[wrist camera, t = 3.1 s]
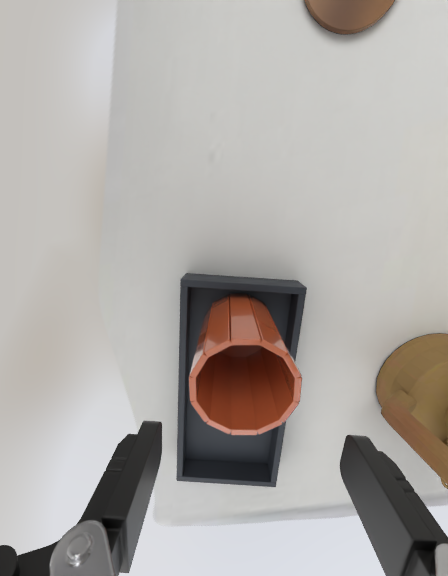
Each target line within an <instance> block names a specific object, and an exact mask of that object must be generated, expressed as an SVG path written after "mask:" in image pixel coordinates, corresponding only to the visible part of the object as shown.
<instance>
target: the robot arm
mask: <svg viewBox="0 0 448 576" xmlns="http://www.w3.org/2000/svg"><path fill="white" fill-rule="evenodd" d="M161 454H162V423H161V422H155V421H143V423H142V425H141V427H140V430H139V432H138V434H128V435H127V436H126V437H125V438H124V439H123V440H122V441H121V442H120V443H119V444H118V446H117V448H116V450H115V452H114V454H113V456H112V459H111V460H110V462H109V464H108V466H107V468H106V471H105V472H104V474H103V476H102V478H101V480H100V482H99V484H98V486H97V488H96V490H95V492H94V494H93V496H92V498H91V500H90V502H89V504H88V506H87V508H86V510H85V512H84V513H83V515H82V517H81V519H80V520H79V522H78V523H77V525H76V526H74V527H73V528H71V529H70V530H69V531H68V532H67V533H66V534H65V535H64V536H63V537H62V538H61V539H60V540H59V541H57V542H55V543H53V544H52V545H49V546H46V547H43V548H40V549H37V550H34V551H31V552H28V553H25V554H21V555H18V556H17V554H16V552H15V549H13V548H12V547H11V546H7V545H1V546H0V576H118V575H119V572H121V573H129V571H130V567H131V564H132V560H133V556H134V553H135V549H136V546H137V543H138V539H139V535H140V532H141V529H142V525H143V522H144V518H145V515H146V511H147V508H148V504H149V500H150V497H151V494H152V490H153V487H154V483H155V480H156V476H157V473H158V469H159V465H160V460H161ZM340 472H341V476H342V479H343V482H344V484H345V486H346V488H347V490H348V493H349V495H350V497H351V499H352V502H353V504H354V506H355V508H356V510H357V513H358V515H359V517H360V519H361V521H362V524H363V526H364V528H365V530H366V533H367V535H368V537H369V539H370V541H371V544H372V546H373V548H374V550H375V552H376V555H377V557H378V559H379V561H380V564H381V566H382V568H383V570H384V572H385V575H386V576H448V537H447V536H446V534H445V533H444V532H443V530H442V529H441V527H440V526H439V524H438V523H437V522H436V520H435V519H434V517H433V516H432V514H431V513H430V512H429V510H428V509H427V507H426V506H425V505H424V503H423V502H422V500H421V499H420V497H419V496H418V495H417V493H415V492H414V489H413V488H412V486H411V485H410V483H409V482H408V481H406V478H405V476H404V475H403V473H402V472H401V471H400V469H399V468H398V466H397V465H396V464H395V463H394V462H393V461H392V460H391V459H390V458H389V457H388V456H387V455H386V454H384V453H383V452H381V451H377V449H376V448H375V446H374V445H373V443H372V442H371V440H370V439H369V438H368V437H366V436H355V435H347V436H346V439H345V443H344V448H343V452H342V456H341V460H340Z"/></svg>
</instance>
